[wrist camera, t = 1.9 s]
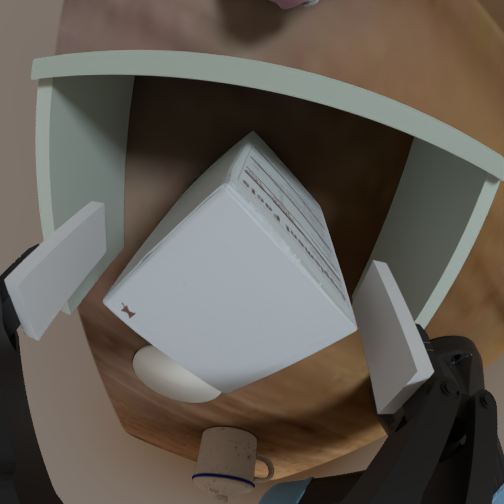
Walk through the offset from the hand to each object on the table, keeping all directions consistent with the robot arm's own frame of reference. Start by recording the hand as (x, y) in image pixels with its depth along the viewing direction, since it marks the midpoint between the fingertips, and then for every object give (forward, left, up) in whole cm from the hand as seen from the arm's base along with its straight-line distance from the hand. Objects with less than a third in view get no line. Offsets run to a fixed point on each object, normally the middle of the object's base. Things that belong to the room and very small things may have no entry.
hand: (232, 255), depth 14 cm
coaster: (-10, +21, -9) cm, 25 cm away
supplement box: (0, 0, -9) cm, 9 cm away
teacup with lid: (-27, +28, -9) cm, 40 cm away
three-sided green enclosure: (0, -1, -9) cm, 9 cm away
